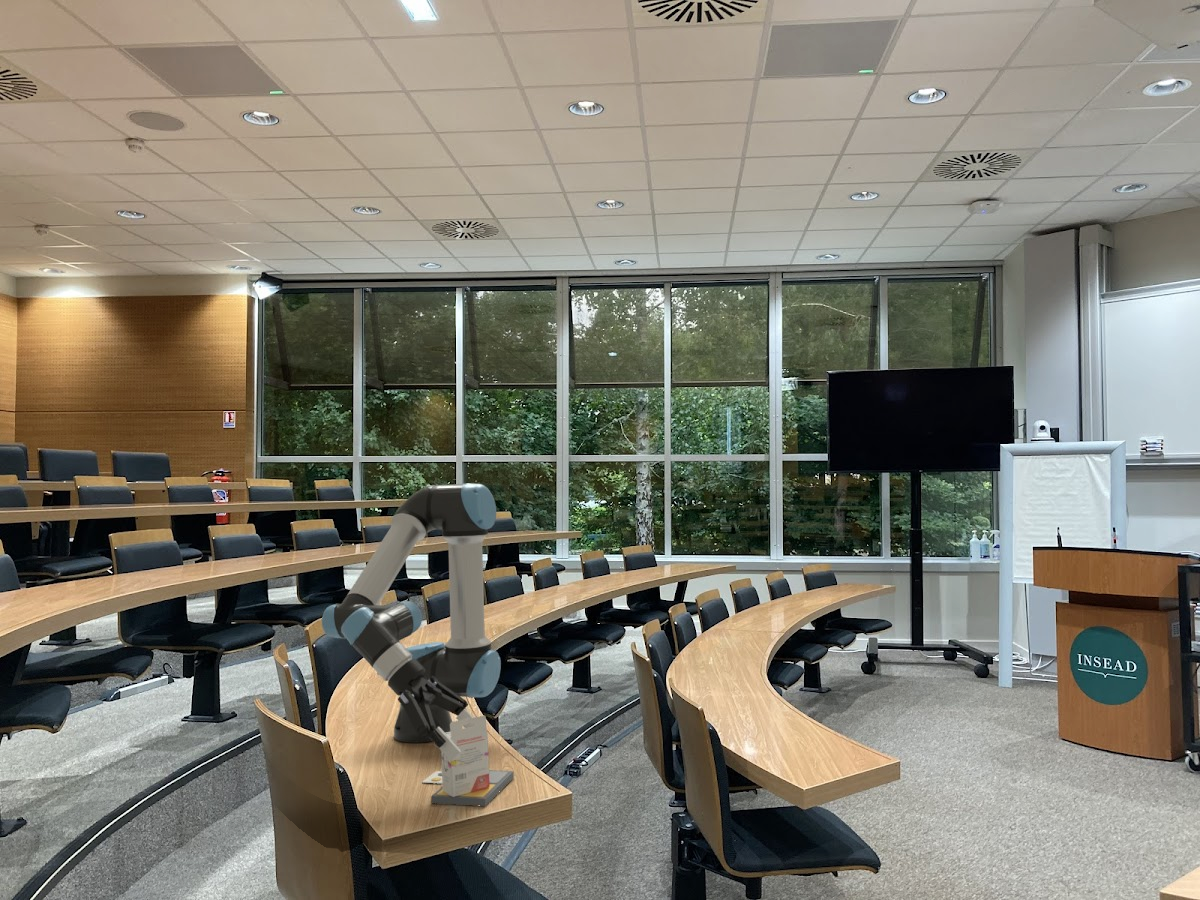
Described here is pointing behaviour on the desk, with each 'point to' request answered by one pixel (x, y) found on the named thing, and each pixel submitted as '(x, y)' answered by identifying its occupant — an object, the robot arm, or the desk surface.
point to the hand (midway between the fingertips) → (469, 745)
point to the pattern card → (434, 778)
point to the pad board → (477, 797)
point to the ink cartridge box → (467, 758)
